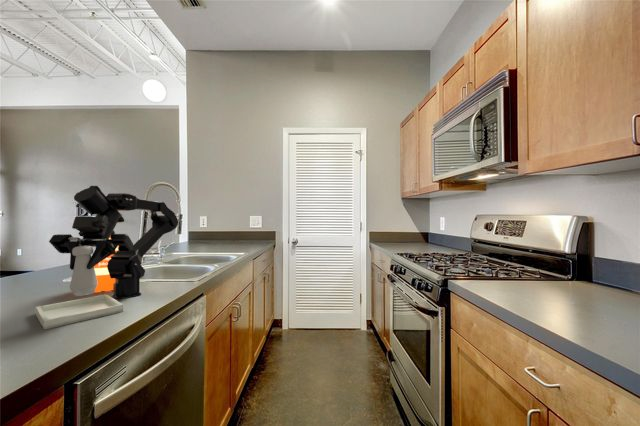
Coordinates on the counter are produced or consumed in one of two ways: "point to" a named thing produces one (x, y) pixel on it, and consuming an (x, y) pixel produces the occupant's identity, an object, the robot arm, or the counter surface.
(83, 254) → the salt shaker
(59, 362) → the counter surface
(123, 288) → the robot arm
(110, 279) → the orange juice
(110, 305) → the tray
